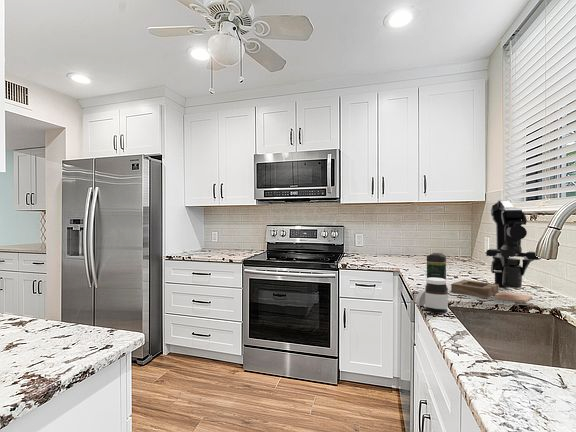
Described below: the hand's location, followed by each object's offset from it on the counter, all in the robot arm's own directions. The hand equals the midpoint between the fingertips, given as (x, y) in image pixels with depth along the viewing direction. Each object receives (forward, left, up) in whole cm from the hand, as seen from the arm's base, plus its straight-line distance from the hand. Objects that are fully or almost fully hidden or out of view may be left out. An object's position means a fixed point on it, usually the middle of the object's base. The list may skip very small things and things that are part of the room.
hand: (512, 274), depth 137 cm
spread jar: (+41, -16, -10) cm, 46 cm away
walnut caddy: (0, -15, -10) cm, 18 cm away
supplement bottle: (0, 0, -6) cm, 6 cm away
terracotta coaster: (0, 0, -10) cm, 10 cm away
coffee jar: (+17, -25, -10) cm, 32 cm away
